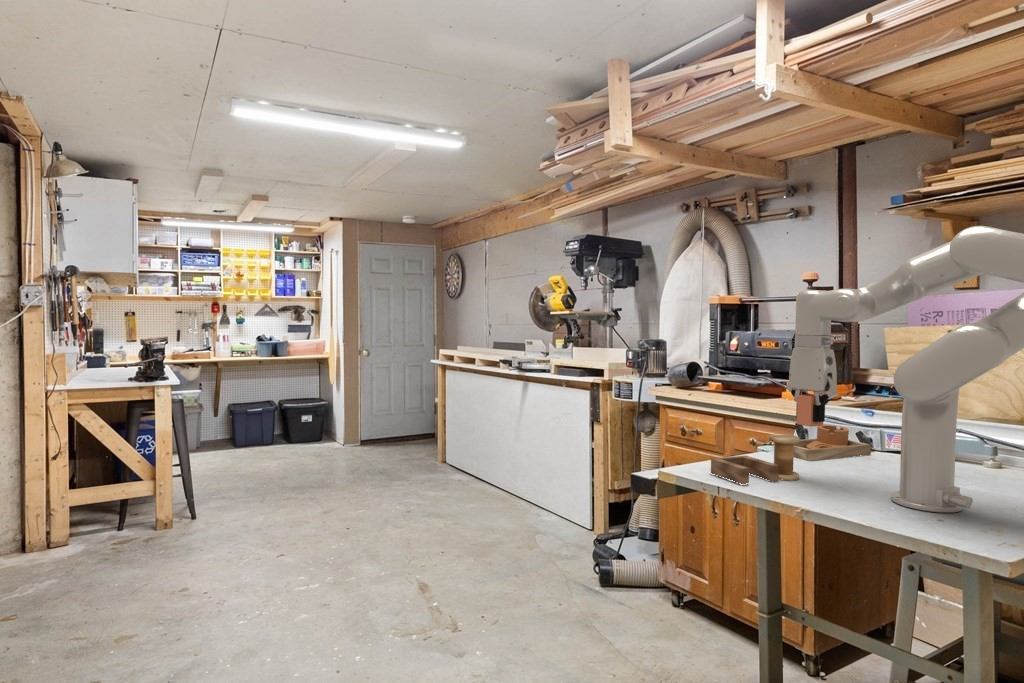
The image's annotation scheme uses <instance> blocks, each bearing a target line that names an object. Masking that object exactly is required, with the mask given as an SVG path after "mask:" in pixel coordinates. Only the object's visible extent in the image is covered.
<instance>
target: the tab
mask: <svg viewBox="0 0 1024 683" xmlns="http://www.w3.org/2000/svg"><path fill="white" fill-rule="evenodd" d="M820 398H821V395H820ZM813 405H816V404H815V398H814V393H813V394H812V393H808V394H802V393H801V395H797V402H796V407H797V418H796V425H801V426H805V427H810V428H811V427H812V428H813V427H818V426H823V425H824V422H813Z"/></svg>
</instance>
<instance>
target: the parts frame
mask: <svg viewBox="0 0 1024 683" xmlns="http://www.w3.org/2000/svg"><path fill="white" fill-rule="evenodd" d="M816 440H817V438H808V439H807V438H806V439H800V442H799V443H796V444H794V456H793V458H796V459H799V460H803V461H807V462H814V461H815V462H816V461H817V462H818V461H824V460H825V461H826V459H827V460H834V459H835V460H837V459H845V458H844V457H846V458H854V457H853V456H856V457H861V456H860V455H866V456H870V455H869V454H872V453H871V452H872V444H869V443H864V442H860V441H854V440H851V439H848V446H840V447H829V448H818V449H806V446H807V445H808V444H810V443H811V442H813V441H816ZM836 458H837V459H836Z"/></svg>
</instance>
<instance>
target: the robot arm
mask: <svg viewBox="0 0 1024 683" xmlns="http://www.w3.org/2000/svg"><path fill="white" fill-rule="evenodd" d="M981 275H989V276H993V277H997V278H1001V279H1005V280H1010V281H1014V282H1019V283H1023V284H1024V233H1023V232H1016V231H1010V230H1006V229H1002V228H997V227H993V226H986V225H974V226H970V227H967V228H965V229H963V230H961V231H959V232H958V233H956V235H955V236H954V237H953V238H952V240H951V241H948V242H945V243H944V244H942V245H939V246H937V247H935V248H932V249H930V250H928V251H925V252H923V253H920V254H919V255H916V256H913V257H911V258H909V259H907V260H906V261H904V262H902V264H900V265H899V267H898V268H897V269H896V270H894V271H893V272H892V273H890V274H889V275H887V276H885V277H882V278H881V279H879V280H877V281H874V282H872V283H870V284H866V285H865V286H862V287H860V288H857V289H856V288H837V289H832V290H817V289H815V290H802V291H799V292H798V293H797V294H796V298H795V302H796V303H795V324H794V325H795V327H794V328H795V329H794V333H795V334H794V348H792V353H791V357H790V363H789V375H788V382H787V383H786V386H785V389H786V390H788V392H790V393H791V395H792V397H793V401H794V402H796V403H797V395H801V394H809V392H813V395H814V398H815V404H816V405H813V422H823V423H824V422H825V421H826V419H825V418H826V406H827V405H828V403H829V402H830V401H831V399H833V398H835V397H837V396H838V395H839V391H838V389H837V387H838V386H837V384H838V383H837V382H838V381H837V380H838V377H837V376H838V375H837V374H838V373H837V362H836V356H835V351H834V349H831V345H834V339H833V338H832V337H831V333H832V330H831V329H832V321H834V322H835V321H836V322H843V323H860V322H864V321H867V320H870V319H872V318H875V317H877V316H880V315H883V314H885V313H889V312H891V311H893V310H896V309H898V308H900V307H902V306H905V305H907V304H909V303H912V302H913V303H914V302H915V301H919V300H921V299H922V298H924V297H928V296H930V295H932V294H934V293H937V292H940V291H942V290H944V289H946V288H950V287H952V286H954V285H958V284H961V283H963V282H965V281H969V280H971V279H974V278H976V277H978V276H981ZM1022 350H1024V291H1023V292H1022V293H1021V294H1019V295H1018V296H1016V297H1014V298H1013V299H1011V300H1009V301H1008V302H1006V303H1005V304H1003V305H1002V306H1000V307H999V308H998V309H995V311H992V312H991V313H990V314H987V315H986V316H985V317H982V319H979V320H977V321H975V322H970V323H969V322H968V323H965V324H963V325H959V326H957V327H956V328H954V329H953V330H951V331H948V332H947V333H946V334H944V335H942V336H941V337H940V338H938V339H936V340H934V341H933V342H932V343H930V344H929V345H926V347H923V348H922V349H920V350H919V351H917V352H915V353H914V354H913V355H911V356H910V357H908V358H907V359H905V360H904V361H902V363H900V364H899V365H898V366H897V368H896V370H895V371H894V375H893V385H894V388H895V390H896V392H897V394H898V395H899V396H901V397H902V398H903V402H902V414H901V427H900V428H901V434H900V435H901V436H900V437H901V438H900V462H899V464H900V465H899V466H900V468H899V490H897V491H893V492H891V494H890V499H891V501H892V502H894V503H895V504H898V505H900V506H903V507H906V508H910V509H915V510H918V511H923V512H933V513H958V512H962V511H963V509H970V508H971V507H972V503H973V502H974V501H973V497H971V496H967V495H963V494H961V492H960V491H961V487H958V486H956V485H955V475H956V474H955V473H956V472H955V471H956V470H955V469H956V446H957V445H956V440H957V436H956V435H957V425H958V424H957V423H958V422H957V421H958V420H957V418H958V405H959V396H960V388H962V387H964V386H965V385H967V384H969V383H971V382H973V381H974V380H976V379H978V378H980V377H981V376H983V375H985V374H987V373H988V372H990V371H992V370H993V369H995V368H997V367H999V366H1001V365H1002V364H1003V363H1004V362H1006V361H1007V360H1008V359H1009V358H1011V357H1013V356H1014V355H1016V353H1018V352H1020V351H1022ZM820 396H821V398H820ZM795 412H796V413H795V414H796V415H795V418H796V419H797V406H796V411H795Z"/></svg>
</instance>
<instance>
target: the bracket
mask: <svg viewBox="0 0 1024 683" xmlns="http://www.w3.org/2000/svg"><path fill="white" fill-rule="evenodd" d="M816 428H817V430H816V439H817V440H816V441H813V442H811V443H810V444H808V445H807V446H806V449H818V448H829V447H840V446H848V440H849V432H850V430H849V428H847V427H845V426H840V427H839V428H837V425H833V424H823V426H816Z"/></svg>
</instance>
